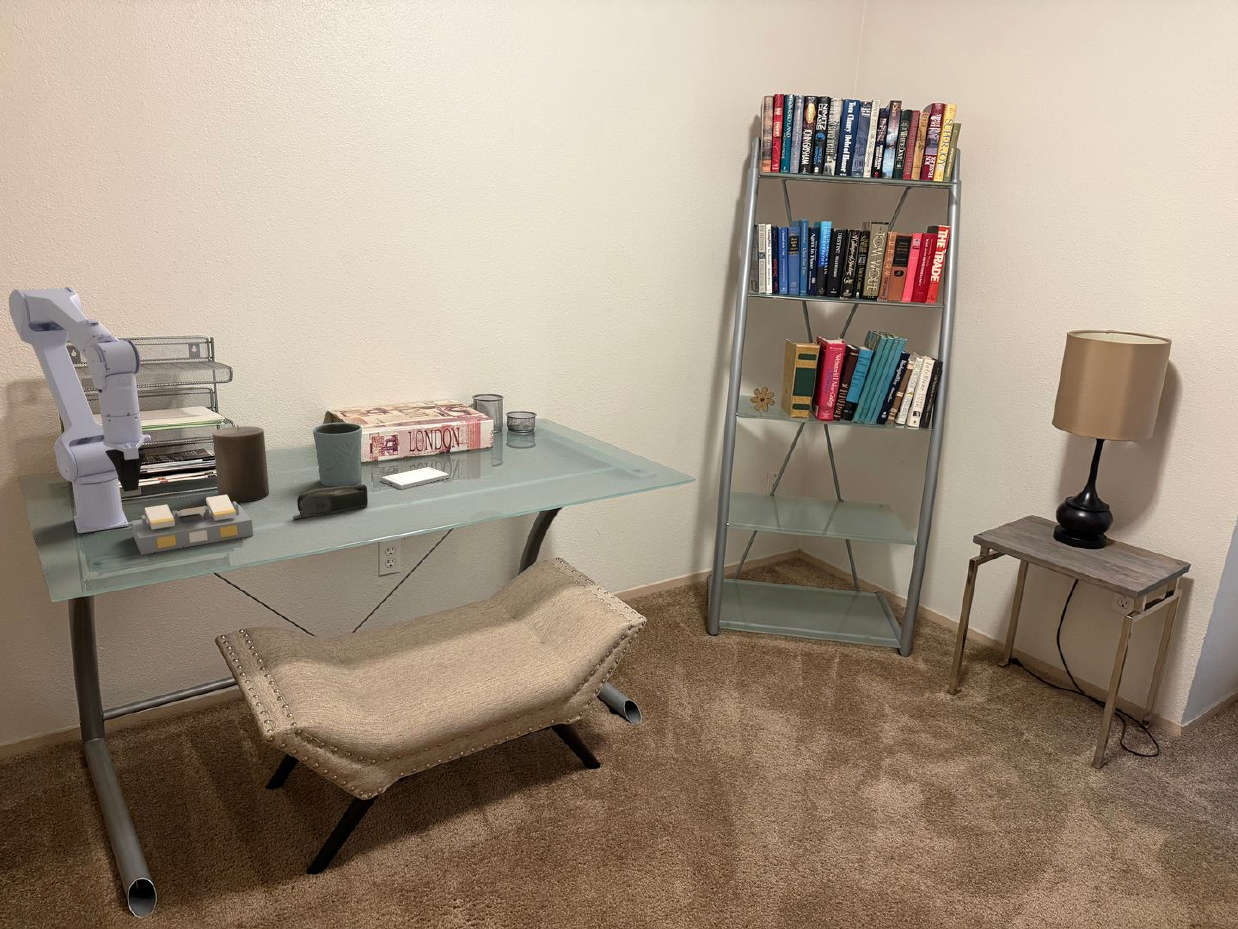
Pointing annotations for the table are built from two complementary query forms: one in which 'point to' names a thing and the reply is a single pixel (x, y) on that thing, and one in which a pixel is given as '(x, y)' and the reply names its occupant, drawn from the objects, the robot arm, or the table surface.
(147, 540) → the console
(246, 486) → the pillar candle
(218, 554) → the table surface
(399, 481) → the hard drive
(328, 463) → the grey green cup
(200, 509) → the rocker
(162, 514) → the block
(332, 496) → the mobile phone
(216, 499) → the rocker
